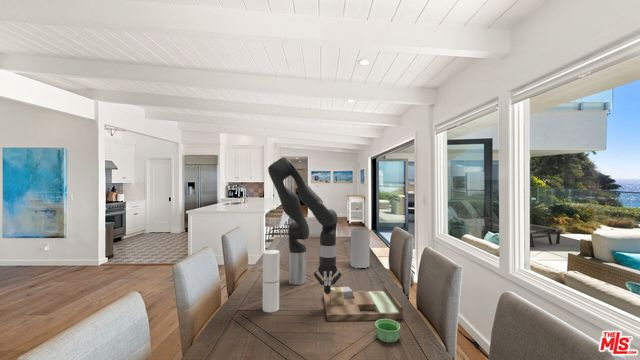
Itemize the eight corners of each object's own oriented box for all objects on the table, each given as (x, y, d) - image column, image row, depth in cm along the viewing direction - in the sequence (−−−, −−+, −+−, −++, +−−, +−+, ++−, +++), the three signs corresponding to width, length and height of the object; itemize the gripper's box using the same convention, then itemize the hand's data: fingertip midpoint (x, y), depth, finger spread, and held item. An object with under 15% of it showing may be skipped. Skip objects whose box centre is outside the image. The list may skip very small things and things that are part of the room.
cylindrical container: (265, 313, 117) (265, 254, 118) (260, 307, 124) (261, 250, 124) (281, 310, 121) (281, 252, 121) (275, 303, 127) (276, 249, 127)
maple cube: (331, 304, 121) (331, 292, 121) (330, 299, 126) (330, 287, 127) (343, 304, 121) (344, 291, 121) (342, 299, 127) (342, 287, 127)
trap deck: (327, 321, 112) (327, 308, 112) (323, 296, 136) (323, 286, 136) (402, 319, 113) (402, 307, 114) (385, 295, 137) (385, 285, 137)
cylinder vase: (370, 269, 179) (371, 230, 179) (351, 269, 179) (351, 230, 179) (367, 263, 191) (368, 227, 192) (349, 263, 191) (350, 227, 192)
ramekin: (383, 327, 107) (383, 316, 107) (404, 337, 101) (405, 324, 101) (369, 336, 101) (370, 324, 101) (391, 347, 95) (391, 334, 95)
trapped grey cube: (341, 304, 128) (341, 292, 128) (337, 299, 133) (337, 287, 133) (352, 302, 129) (352, 290, 130) (347, 297, 135) (347, 286, 135)
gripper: (313, 256, 120) (312, 297, 120) (343, 256, 120) (343, 296, 120) (312, 252, 127) (312, 290, 127) (341, 252, 128) (341, 290, 128)
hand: (327, 293), depth 124 cm, fingers closed
